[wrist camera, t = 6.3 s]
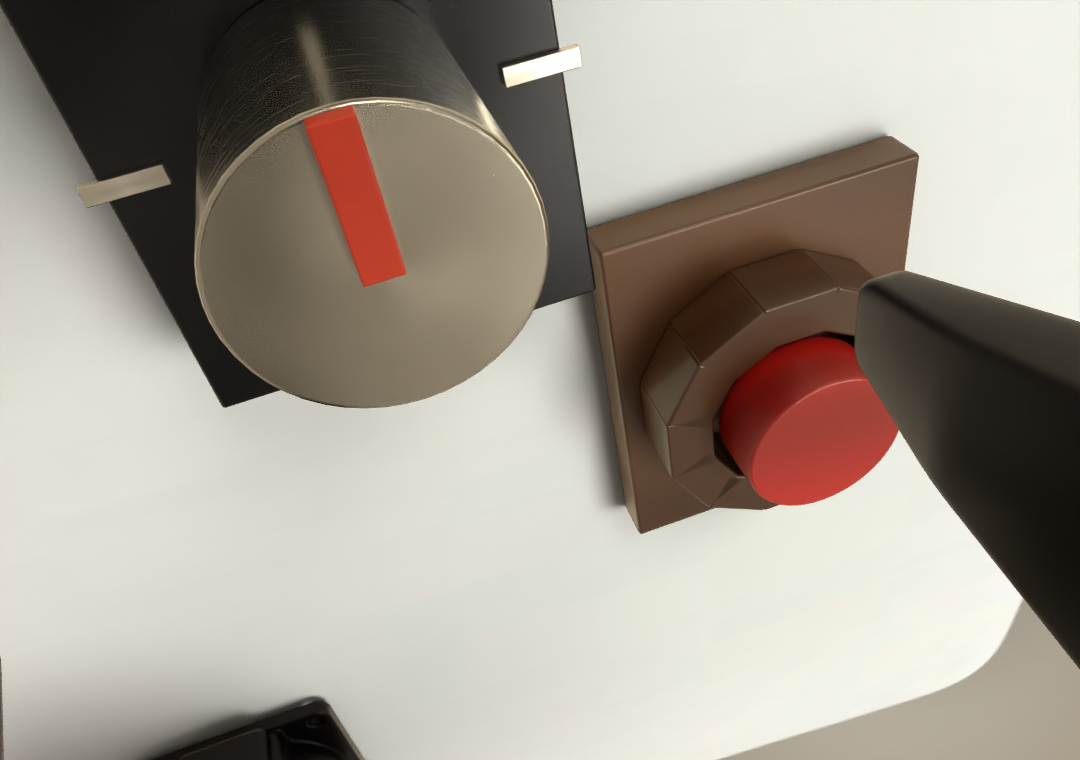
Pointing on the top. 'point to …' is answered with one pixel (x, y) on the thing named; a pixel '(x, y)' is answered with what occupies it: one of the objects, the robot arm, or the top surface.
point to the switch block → (733, 308)
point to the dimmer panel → (172, 118)
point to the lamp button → (805, 422)
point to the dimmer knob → (358, 207)
